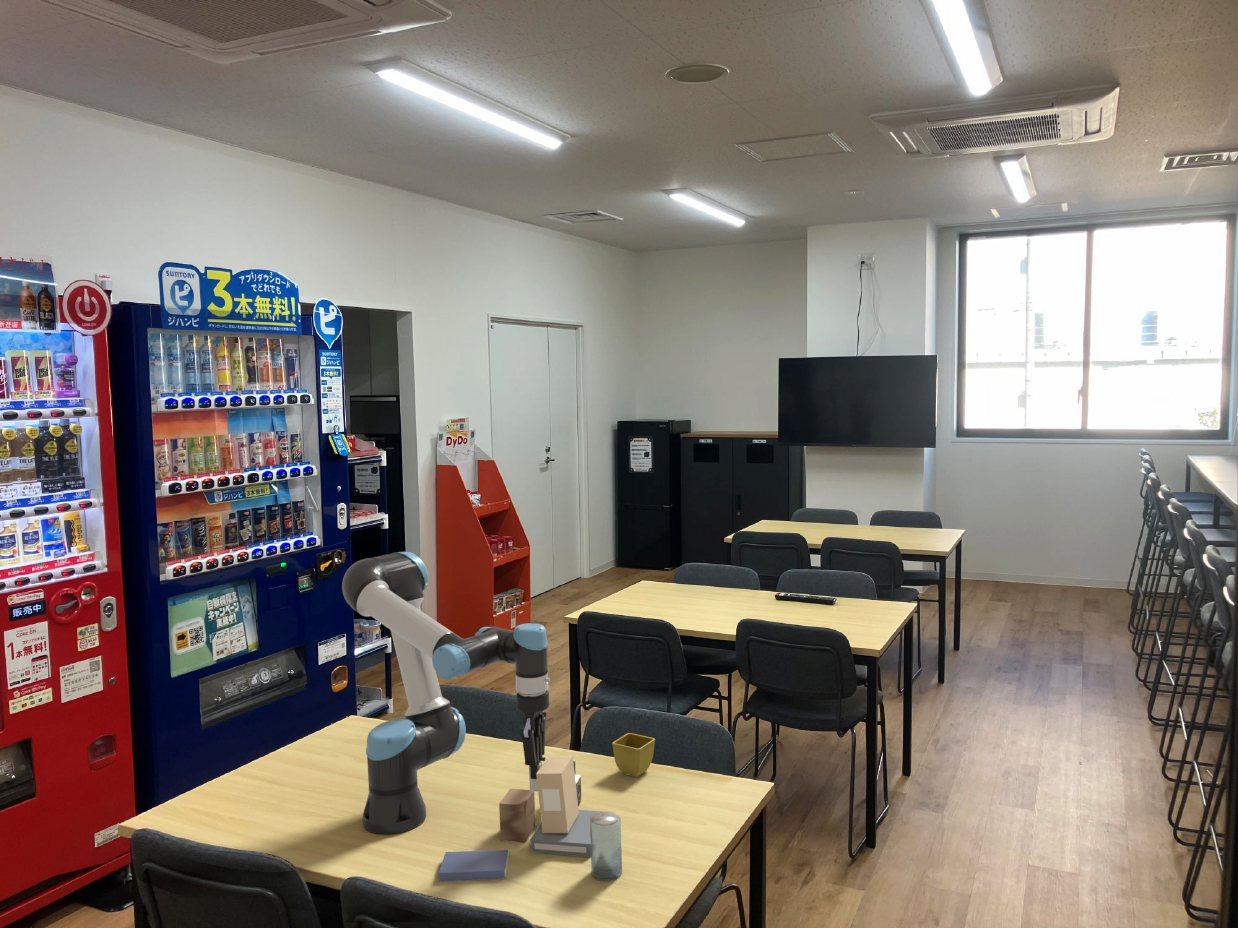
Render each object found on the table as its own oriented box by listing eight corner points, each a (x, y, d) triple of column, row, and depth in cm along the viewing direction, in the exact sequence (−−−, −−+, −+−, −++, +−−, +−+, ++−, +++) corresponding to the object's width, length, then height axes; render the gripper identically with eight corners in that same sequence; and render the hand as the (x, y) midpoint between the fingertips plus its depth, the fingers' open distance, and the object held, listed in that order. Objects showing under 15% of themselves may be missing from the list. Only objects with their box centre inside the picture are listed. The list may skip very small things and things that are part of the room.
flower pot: (656, 769, 251) (655, 737, 250) (640, 781, 243) (639, 748, 243) (629, 763, 256) (628, 732, 255) (612, 775, 248) (611, 742, 247)
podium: (530, 852, 207) (530, 839, 207) (550, 819, 223) (550, 807, 223) (590, 857, 204) (590, 844, 204) (606, 823, 220) (606, 811, 220)
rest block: (500, 840, 213) (499, 803, 213) (511, 824, 221) (510, 788, 220) (525, 842, 212) (523, 804, 211) (535, 826, 220) (534, 790, 219)
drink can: (588, 879, 195) (586, 823, 194) (595, 863, 202) (593, 809, 201) (618, 882, 194) (617, 825, 193) (624, 866, 200) (623, 811, 199)
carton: (542, 833, 210) (536, 773, 209) (554, 813, 220) (548, 756, 219) (567, 833, 208) (561, 773, 208) (578, 813, 218) (572, 755, 217)
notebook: (439, 883, 196) (438, 872, 196) (446, 862, 205) (445, 851, 205) (505, 880, 197) (504, 869, 197) (508, 859, 206) (508, 849, 205)
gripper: (539, 701, 206) (543, 803, 208) (555, 683, 218) (559, 779, 220) (508, 699, 207) (512, 800, 209) (525, 681, 220) (529, 777, 222)
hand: (536, 789), depth 215 cm, fingers closed
